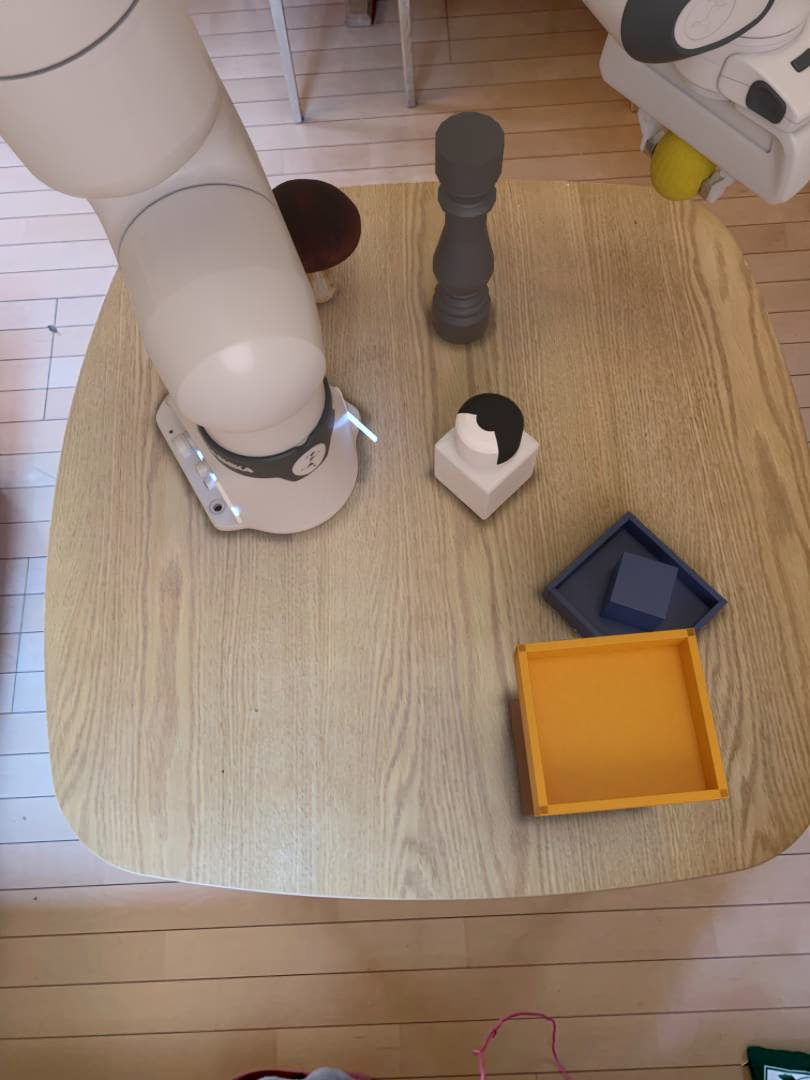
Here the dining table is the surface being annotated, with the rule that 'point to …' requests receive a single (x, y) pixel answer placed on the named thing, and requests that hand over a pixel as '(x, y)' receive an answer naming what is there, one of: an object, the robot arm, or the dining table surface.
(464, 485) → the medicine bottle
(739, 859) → the dining table surface
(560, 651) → the ochre tray
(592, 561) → the navy tray
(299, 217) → the decorative mushroom
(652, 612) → the navy block
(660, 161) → the lemon
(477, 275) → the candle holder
